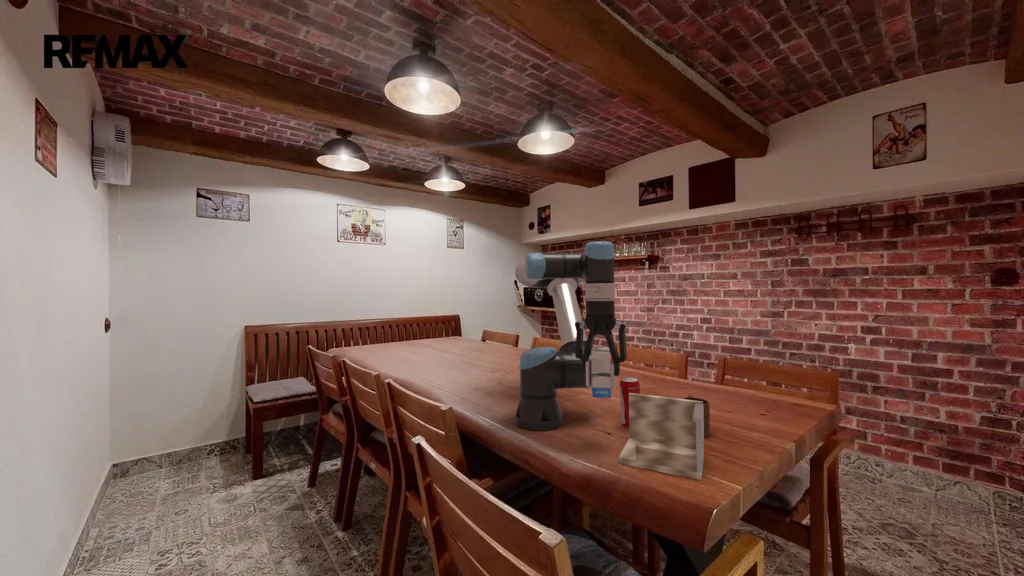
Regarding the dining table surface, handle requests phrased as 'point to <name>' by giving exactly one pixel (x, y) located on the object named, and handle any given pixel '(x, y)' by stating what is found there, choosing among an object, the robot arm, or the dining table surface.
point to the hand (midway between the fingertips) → (600, 386)
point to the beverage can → (627, 397)
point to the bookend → (699, 435)
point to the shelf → (662, 435)
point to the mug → (706, 414)
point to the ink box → (601, 373)
